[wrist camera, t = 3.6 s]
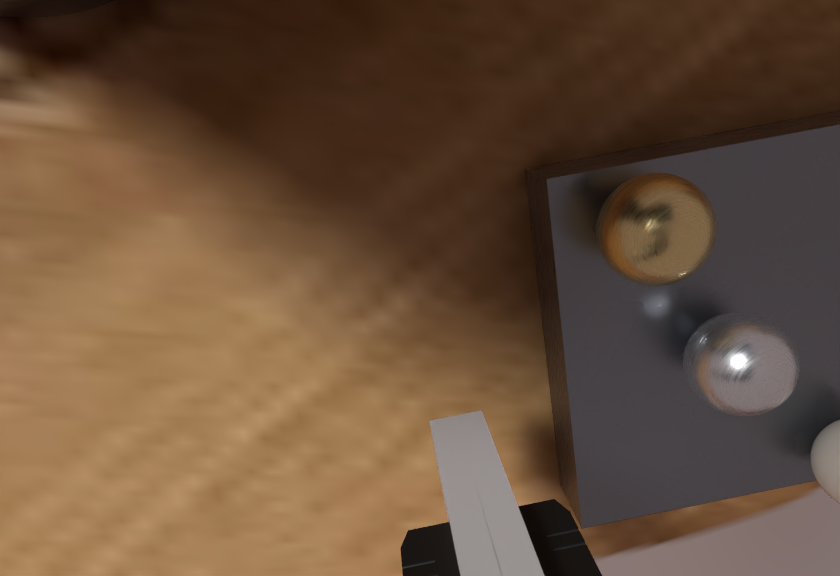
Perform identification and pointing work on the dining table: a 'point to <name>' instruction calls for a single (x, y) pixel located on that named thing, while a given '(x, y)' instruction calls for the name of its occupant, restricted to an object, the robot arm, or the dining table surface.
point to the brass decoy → (656, 229)
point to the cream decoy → (827, 459)
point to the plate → (689, 320)
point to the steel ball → (741, 364)
